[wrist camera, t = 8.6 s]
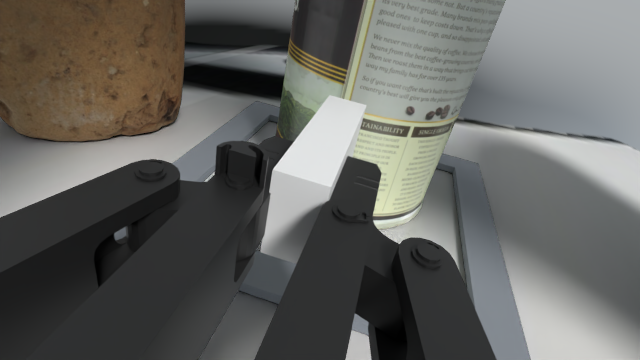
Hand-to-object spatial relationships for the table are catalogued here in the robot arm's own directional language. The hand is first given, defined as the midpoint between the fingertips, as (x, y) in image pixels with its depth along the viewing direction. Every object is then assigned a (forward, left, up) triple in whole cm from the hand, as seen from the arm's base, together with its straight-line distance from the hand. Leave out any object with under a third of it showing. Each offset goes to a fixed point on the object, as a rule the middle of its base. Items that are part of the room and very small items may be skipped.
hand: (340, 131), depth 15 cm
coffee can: (0, -8, -7) cm, 10 cm away
